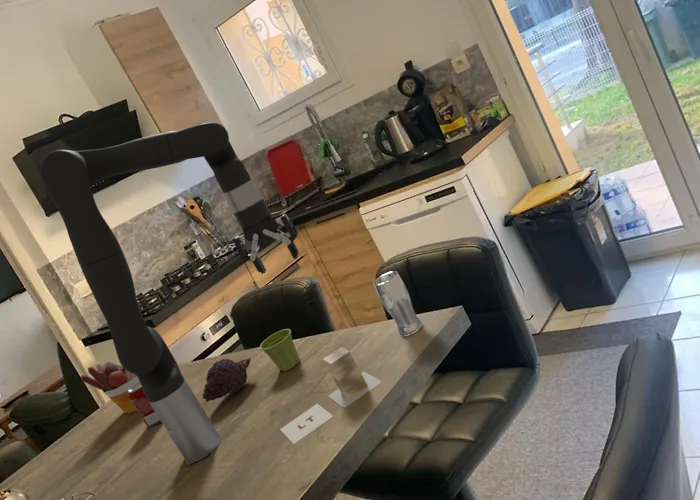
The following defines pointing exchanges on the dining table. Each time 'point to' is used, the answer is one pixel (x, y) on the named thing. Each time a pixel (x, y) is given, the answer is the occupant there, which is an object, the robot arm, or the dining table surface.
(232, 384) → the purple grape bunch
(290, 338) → the plant pot
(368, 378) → the rest pad
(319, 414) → the tile
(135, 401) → the soda can
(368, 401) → the dining table surface
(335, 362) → the beech block
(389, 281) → the beer glass
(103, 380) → the bucket of meat
